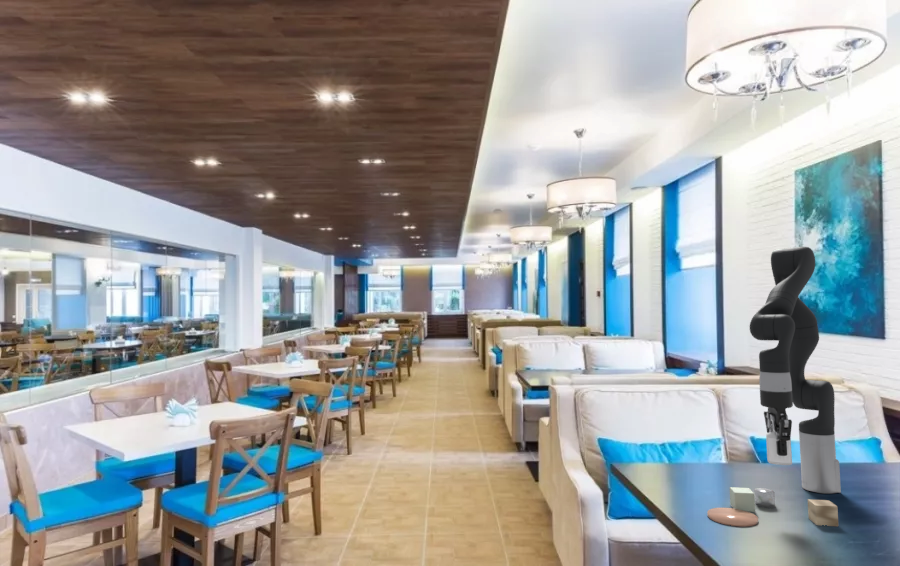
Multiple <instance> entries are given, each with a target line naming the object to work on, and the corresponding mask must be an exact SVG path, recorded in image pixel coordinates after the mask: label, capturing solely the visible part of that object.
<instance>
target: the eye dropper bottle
mask: <svg viewBox="0 0 900 566" xmlns="http://www.w3.org/2000/svg"><path fill="white" fill-rule="evenodd" d="M777 429H779V428H777ZM782 436H784V434H782ZM765 438H766V439H765V440H766V441H765V442H766V458H767V463H768V464H770V465H777V466H791V465H792V464H793V456H792V455H793V454H792V442H791V441H792V438H791V437H790V440H788V441H786V442H787V455H786V456H779V455H778V454H777V443H776V441H777V440H776V434H775V432H774V431H773V432H769V433H766V437H765Z"/></svg>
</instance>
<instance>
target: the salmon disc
mask: <svg viewBox="0 0 900 566" xmlns="http://www.w3.org/2000/svg"><path fill="white" fill-rule="evenodd" d="M706 514H707V518H709V519H710V520H712V521H713V522H715V523H718V524H721V525H726V526H730V525H731V526H732V527H740V528H741V527H744V528H746V527H753V526H756V525H758V523H759V517H758V516H757V515H755V514H754V513H753V512H749V511H744V510H740V509H734V508H733V507H732V508H731V507H712V508H710V509H708V510H707V513H706Z"/></svg>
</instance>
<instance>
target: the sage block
mask: <svg viewBox="0 0 900 566" xmlns="http://www.w3.org/2000/svg"><path fill="white" fill-rule="evenodd" d="M729 505H730V506H731V507H732V508H734V509H740V510H744V511H747V512H750V513H756V505H755V493H754V491H752V490H751V488H749V487H736V486H735V487H734V486H733V487H732V486H731V487H730V486H729Z"/></svg>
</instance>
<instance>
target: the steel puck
mask: <svg viewBox="0 0 900 566" xmlns="http://www.w3.org/2000/svg"><path fill="white" fill-rule="evenodd" d="M753 493H754V496H755V506H757V507H761V508H764V509H765V508H766V509H773V508H776V495H775V494H776V491H774V490H772V489H769V488H766V487H765V488H763V487H758V488H754V491H753Z"/></svg>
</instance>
